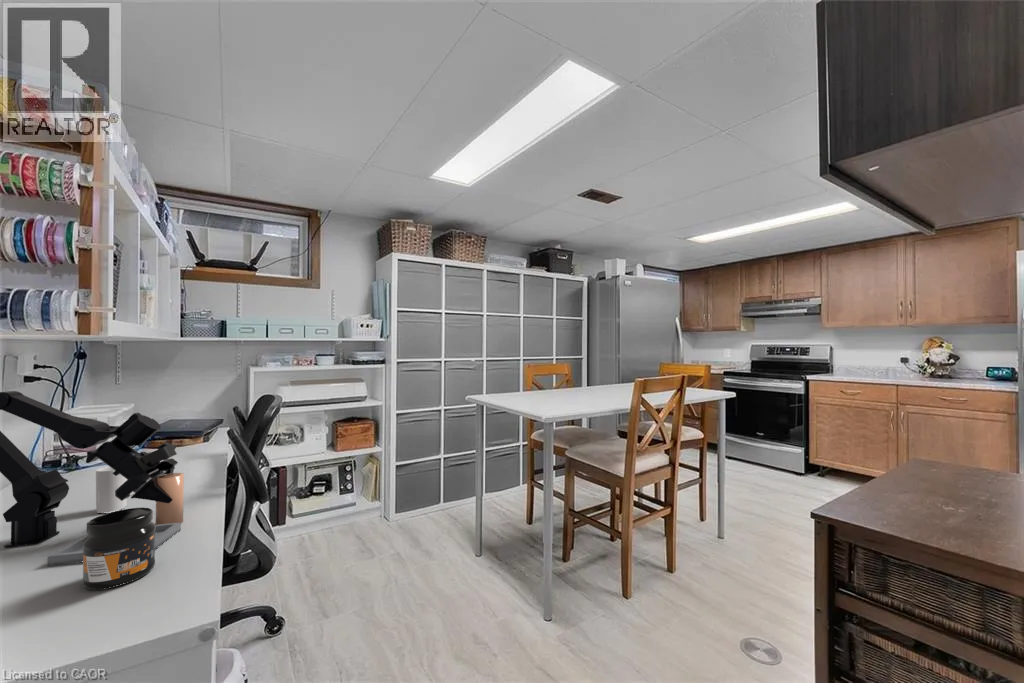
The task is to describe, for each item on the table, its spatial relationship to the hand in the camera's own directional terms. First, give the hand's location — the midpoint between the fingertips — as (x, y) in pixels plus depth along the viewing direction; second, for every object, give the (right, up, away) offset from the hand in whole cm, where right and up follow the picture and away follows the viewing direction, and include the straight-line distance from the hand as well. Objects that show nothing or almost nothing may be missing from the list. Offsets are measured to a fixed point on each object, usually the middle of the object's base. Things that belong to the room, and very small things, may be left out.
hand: (176, 497), depth 108 cm
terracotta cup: (-1, -7, -1) cm, 7 cm away
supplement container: (+11, -6, -26) cm, 29 cm away
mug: (-26, -8, +12) cm, 30 cm away
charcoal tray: (-2, -6, -13) cm, 15 cm away
